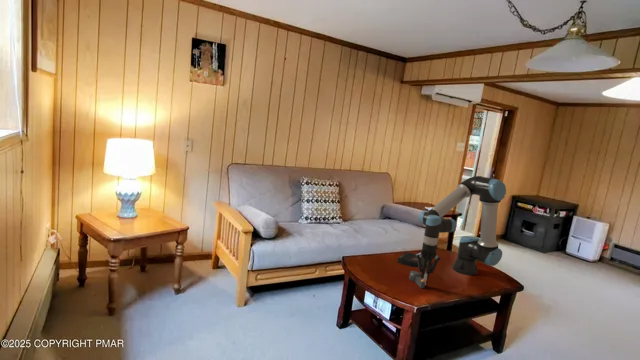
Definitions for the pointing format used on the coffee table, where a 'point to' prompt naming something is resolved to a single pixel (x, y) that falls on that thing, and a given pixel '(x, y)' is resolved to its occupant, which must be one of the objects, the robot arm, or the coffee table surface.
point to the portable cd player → (410, 260)
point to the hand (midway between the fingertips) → (423, 283)
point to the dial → (417, 278)
